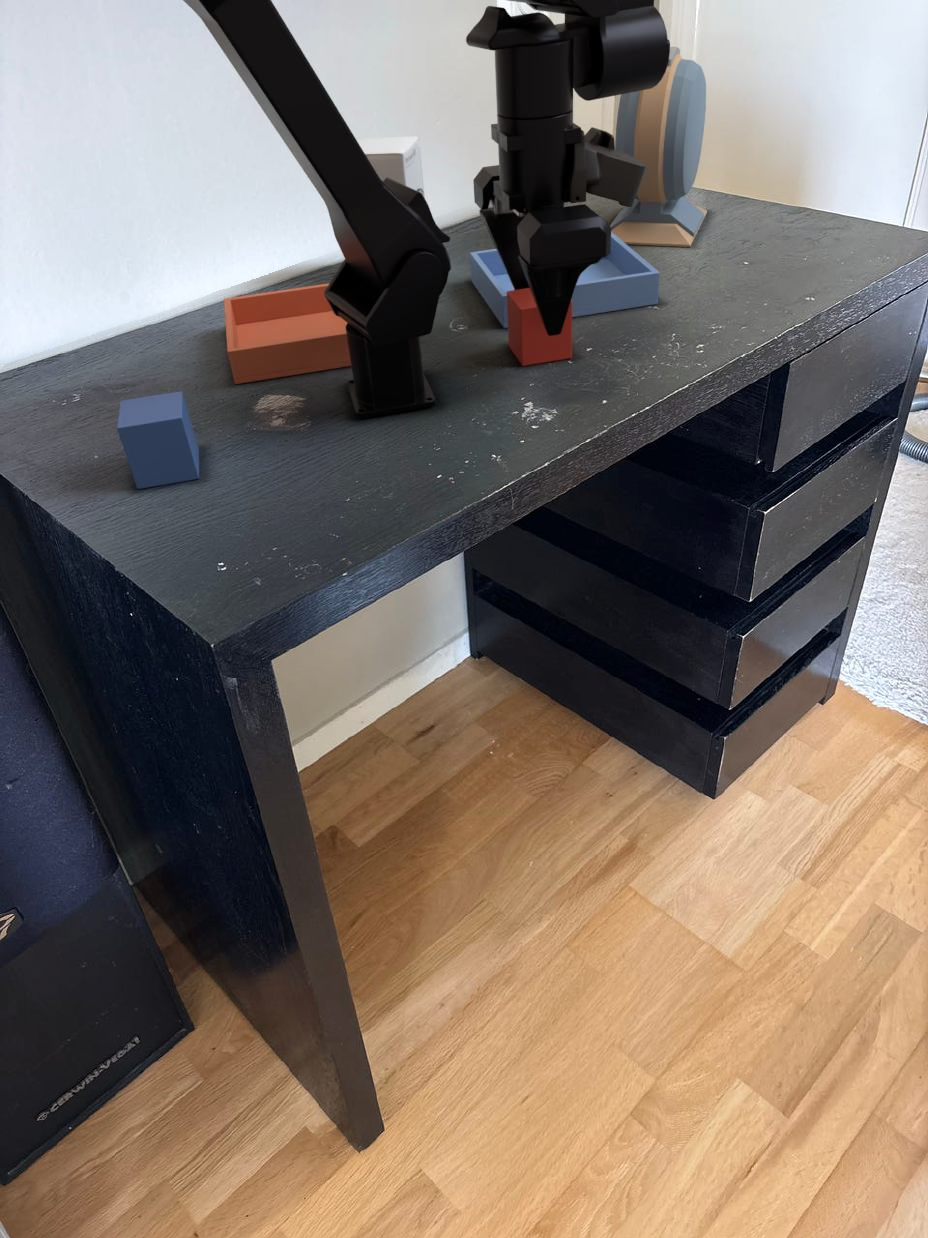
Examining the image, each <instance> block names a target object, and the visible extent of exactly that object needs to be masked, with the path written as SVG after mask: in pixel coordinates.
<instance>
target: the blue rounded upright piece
mask: <svg viewBox="0 0 928 1238" xmlns="http://www.w3.org/2000/svg"><path fill="white" fill-rule="evenodd" d="M706 81H707V80H706V76H705V73H704V70H703V68H702V66H701V65H700V64H699V63H697V62H696V61H695V60H691V59H684V58H683V57H682V56H681V49H680V48H679V47H678V46H670V55H669V61H668V65H667V69H666V72H665V74H664V76H663V78H662V80H661V81H660V82H659V83H658V84H657V85H656V86H655V87H653V88H651V89H646V90H641V91H636V92H631V93H626V94H621V95H620V98H619V104H618V111H617V117H616V127H615V139H614V142H615V150H616V151H617V150H620V151H622V152H624V153H626V154H628V155H630V156H632V157H634V158H636V159H637V160H639V161H640V162H642V163H644V164H645V165H647V167H646V170H645V173H644V175H643V178H642V181H641V184H640V187H639V189H638V192H637V195H636V198H635V201H634V203H633V206H632V207H626V206H624V208H622V209H621V210H620V211H619V212H618V213H617V215H616V216H615V217H614V219H613V220H612V222H611V224H610V225H609V226H610V227H611V232H612V233H613V234H614V235H616V236H617V237H618V238H619V239H620V240H622V241H623V242H624V243H625V244H626V245H634V246H635V245H637V246H655V247H656V246H657V247H677V248H678V247H680V248H691V245H692V244H693V241H694V240H695V238H696V236H697V233H698V232H699V230H700V228H701V225H702V223H703V222H704V220H705V218H706V215H707V213H708V210H706V209H704V208H702V207H700V206H698V205H696V204H694V203H692V202H691V201H689V199H687V198H686V197H685V196H686V195H688V194H689V192H690V191H691V189H692V187H693V186H694V184H695V181H696V178H697V174H698V169H699V164H700V161H701V160H700V159H701V153H702V147H703V140H704V131H705V122H706V109H707V82H706Z"/></svg>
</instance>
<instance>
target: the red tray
mask: <svg viewBox="0 0 928 1238" xmlns="http://www.w3.org/2000/svg"><path fill="white" fill-rule="evenodd" d="M329 283H330V282H329ZM329 283H322V284H315V285H310V286H309V285H308V286H303V287H302V286H301V287H294V288H289V289H281V290H275V291H269V292H261V293H253V294H247V295H241V296H233V297H227V298H223V305H224V321H225V335H226V348H227V351H226V352H227V355H228V360H229V365H230V368H231V372H232V376H233V380H234V384H235V385H240V384H246V383H251V382H252V383H253V382H258V381H263V380H264V381H265V380H272V379H276V378H277V379H278V378H284V377H290V376H298V375H301V374H310V373H314V372H321V371H328V370H334V369H341V368H347V367H351V360H350V354H349V347H348V341H347V334H346V325H347V322H346V321H345V320H343V319H342V318H341V317H338V316H336V315H335V314H334V313H333V311H332V309H331V307H330V305H329V304H328V302H327V300H326V298H325V296H324V291H325V290H326V288H327V287H328V285H329Z"/></svg>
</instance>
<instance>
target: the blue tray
mask: <svg viewBox="0 0 928 1238" xmlns="http://www.w3.org/2000/svg"><path fill="white" fill-rule="evenodd" d="M469 261H470V276H471V283H472V284H473V286H474V287H475V288H476V290H477V291H478V294H480V296H481V298H482V300H484V302H485V303H486V304H487V306H488V307H489V309H490V310H491V312H492V313H493V314H494V316H495V318H496V319H497V320H498V322H499V323H500V325H501V327H503V329H508V314H507V291H512V290H514V287H513V285H512V283H511V281H510V278H509V276H508V274H507V272H506V269H505V267H504V265H503V263H502V260H501V258H500V256H499V254H498V252H497V249H496V248H492V249H484V250H478V251H471V252H469ZM660 275H661V272H660V271H658V270H657V269H656V268H655V267H654V266H653V265H652V264H650V263H649V261H647V260H645V259H644V258H643V257H642V256H641V255H640V254H638V252H636V250H634V249H632V248H631V247H630V246H629V244H625V243H624V242H623V241H622V240H620V239H619V238H618V237H617V236H616V235H614V234H613V233H612V232H611V252H610V254H609V255H607V256H606V257H602V259H601V260H600V261H599V262H598V263H596V264H592V265H590V266H589V267H588V268H587V269H585V270H584V271H583V272H582V273H581V275H580V276H579V278H578V281H577V284H576V287H575V289H574V292H573V296H572V299H571V301H572V318H578V317H584V316H591V315H596V314H604V313H609V312H616V311H622V310H628V309H634V308H640V307H646V306H648V307H649V306H653V305H654V306H655V305H658V303H659V294H660V293H659V291H660V279H661V278H660V277H661V276H660Z"/></svg>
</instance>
